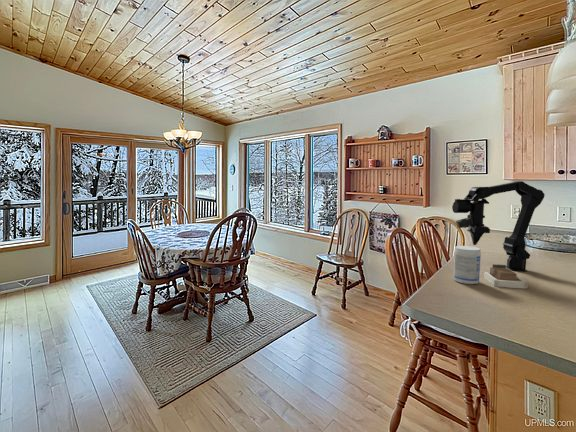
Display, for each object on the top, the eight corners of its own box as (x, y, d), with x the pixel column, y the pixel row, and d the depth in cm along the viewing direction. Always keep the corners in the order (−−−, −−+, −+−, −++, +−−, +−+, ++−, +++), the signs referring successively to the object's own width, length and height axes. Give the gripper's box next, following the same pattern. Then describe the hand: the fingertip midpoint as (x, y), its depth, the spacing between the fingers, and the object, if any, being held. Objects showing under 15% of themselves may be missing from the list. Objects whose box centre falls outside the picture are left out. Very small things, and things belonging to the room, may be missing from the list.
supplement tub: (482, 286, 121) (484, 250, 120) (456, 283, 124) (458, 249, 123) (475, 278, 131) (477, 246, 129) (451, 277, 133) (452, 244, 132)
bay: (483, 277, 133) (484, 271, 132) (513, 279, 129) (513, 273, 129) (494, 286, 121) (495, 280, 121) (527, 288, 118) (528, 282, 118)
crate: (489, 278, 132) (490, 263, 131) (504, 279, 130) (505, 264, 130) (499, 285, 123) (500, 269, 122) (515, 286, 122) (516, 270, 121)
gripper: (452, 211, 154) (451, 240, 156) (463, 214, 136) (461, 247, 138) (476, 211, 151) (475, 241, 153) (491, 215, 133) (489, 249, 135)
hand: (474, 244), depth 145 cm, fingers closed
